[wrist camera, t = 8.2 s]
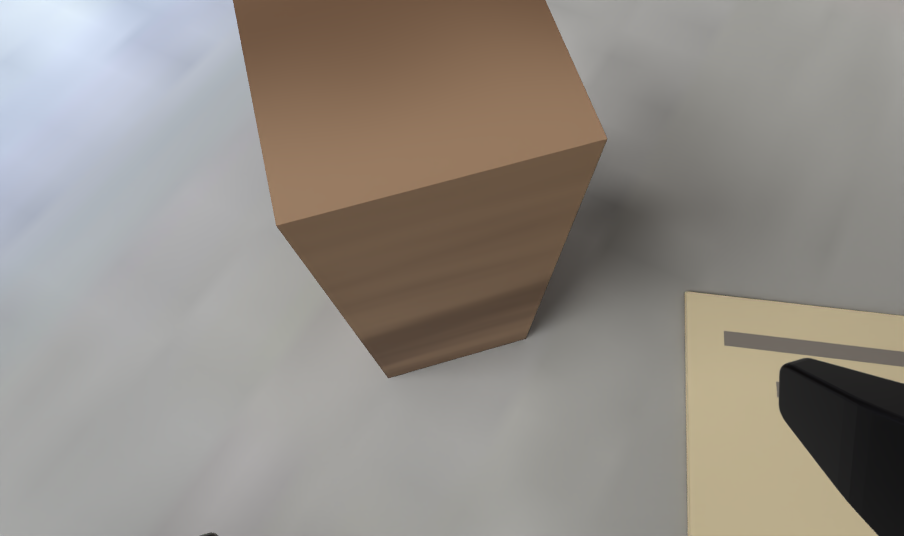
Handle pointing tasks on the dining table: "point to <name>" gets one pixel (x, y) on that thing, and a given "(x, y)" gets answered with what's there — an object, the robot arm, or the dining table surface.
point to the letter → (768, 412)
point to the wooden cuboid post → (421, 161)
